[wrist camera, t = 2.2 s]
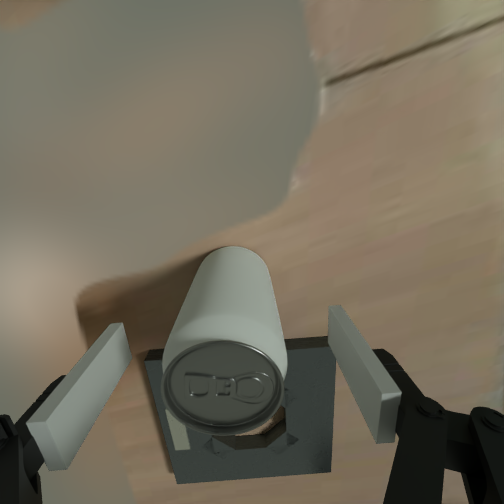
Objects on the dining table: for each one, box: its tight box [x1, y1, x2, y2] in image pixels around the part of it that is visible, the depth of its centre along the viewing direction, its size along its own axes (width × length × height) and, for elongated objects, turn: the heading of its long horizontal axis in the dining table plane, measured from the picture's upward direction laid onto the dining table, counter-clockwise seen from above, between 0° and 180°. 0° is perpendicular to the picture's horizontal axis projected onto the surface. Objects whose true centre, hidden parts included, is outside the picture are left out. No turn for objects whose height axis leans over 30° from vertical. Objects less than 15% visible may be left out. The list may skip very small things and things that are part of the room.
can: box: [161, 246, 287, 436], centre depth 17 cm, size 6×6×12 cm
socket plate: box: [144, 336, 336, 484], centre depth 27 cm, size 18×18×2 cm
